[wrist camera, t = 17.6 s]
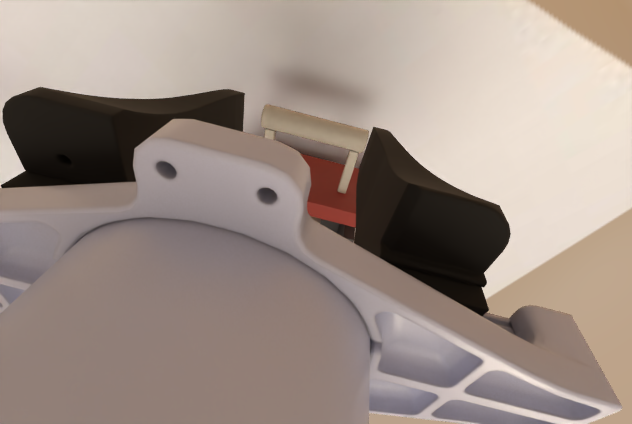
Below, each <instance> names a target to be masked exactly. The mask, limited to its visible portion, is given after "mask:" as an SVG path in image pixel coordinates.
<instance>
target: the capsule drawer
mask: <svg viewBox="0 0 632 424" xmlns="http://www.w3.org/2000/svg"><path fill="white" fill-rule="evenodd" d="M261 126H262V127H264V128H266V129H265V135H264V138H268V139H272V140H275V134H276V131H279V132H283V133H287V134H291V135H295V136H299V137H302V138H306V139H310V140H314V141H318V142H322V143H326V144H329V145H333V146H337V147H341V148H345V149H349V153H348V156H347V160H346V163H345V165H343V164H339V163H335V162H332V161H328V160H324V159H320V158H316V157H312V156H308V155H304V154H301V153H300V154H301V156H302V157H303V159H304V160H305V161H306V163H307V164H308V165H309V167H310V175H311V187H310V192H309V196H308V200H307V211H308V214H309V215H310V216H312V217H316V218H320V219H321V223H320V224H321V225H323V226H325V227H327V228H328V229H330V230H332V231H334V232H335V233H337V234H339V235H341V236H342V237H344V238H346V239H348V240H349V241H351V242H354V236H355V228H356V185H357V178H358V172H359V168H355V164H356V161H357V158H358V155H359V152H360V153H363V151H364V149H365V146H366V143H367V139H368V135H369V131H368V130H365V129H361V128H357V127H353V126H349V125H345V124H341V123H338V122H334V121H330V120H326V119H322V118H318V117H315V116H311V115H307V114H303V113H299V112H295V111H291V110H288V109H284V108H280V107H276V106H272V105H268V104H266V105H265V107H264V109H263V112H262V117H261Z"/></svg>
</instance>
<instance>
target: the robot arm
mask: <svg viewBox="0 0 632 424" xmlns="http://www.w3.org/2000/svg"><path fill="white" fill-rule="evenodd" d="M244 95H245V93H242V92H238V91H234V90H230V89H223V90H216V91H210V92H205V93H199V94H194V95H187V96H180V97H173V98H163V99H119V98H107V97H98V96H89V95H82V94H76V93H70V92H65V91H59V90H53V89H48V88H43V87H39V88H36V89H33V90H30V91H27V92H25V93H22V94H19V95H16V96H14V97H12V98H11V99H9V100H8V101H7V102H6V103H5V106H4V108H3V123H4V126H5V129H6V131H7V134H8V136H9V138H10V140H11V142H12V144H13V146H14V148H15V150H16V153H17V155H18V157H19V159H20V161H21V163H22V165H23V167H24V169H25V170H26V171H25V172H23V173H21V174H20V175H18V176H16V177H14V178H13V179H11V180H9V181H8V182H6V183H4V184H3V185H1V187H2V188H0V424H369V413H375V414H384V415H392V416H402V417H410V418H419V419H427V420H437V421H445V422H454V423H461V424H589V423H591V422H594V421H596V420H599V419H601V418H604V417H606V416H609V415H611V414H614V413H616V412H619V411H621V409H622V405H621V404H620V402H619V400H618V398H617V396H616V395H615V393H614V391H613V389H612V387H611V386H610V384H609V382H608V380H607V378H606V377H605V375H604V373H603V371H602V369H601V368H600V366H599V364H598V362H597V360H596V359H595V357H594V355H593V353H592V351H591V350H590V348H589V346H588V344H587V343H586V341H585V339H584V337H583V335H582V334H581V332H580V330H579V329H578V326H577V325H576V323H575V321H574V319H573V317H572V316H571V315H570V314H567V313H563V312H559V311H555V310H551V309H547V308H543V307H539V306H533V305H528V306H524V307H521V308H520V309H518V310H517V311H516V312H515V313H514V314H513V315H512V316H511V317H510V318H505V317H501V316H497V315H493V314H490V313H486V312H487V311H488V310H489V309H488V306H487V303H486V299H485V296H484V293H483V290H482V287H484V286H485V285H486V283H487V281H486V278H485V275H484V272H485V271H486V270H487V269H488V268H489V266H490V265H491V264H492V263H493V262H494V261H495V260H496V259H497V257H498V256H499V255H500V254H501V253H502V252H503V250H504V249H505V247H506V246H507V244H508V242H509V238H510V228H509V224H508V222H507V220H506V218H505V216H504V214H503V212H502V210H501V208H500V206H499V205H497V204H494V203H491V202H488V201H486V200H483V199H480V198H478V197H475V196H473V195H470V194H468V193H466V192H464V191H462V190H460V189H457V188H456V187H454V186H452V185H450V184H448V183H446V182H445V181H443V180H441V179H440V178H438V177H437V176H435V175H434V174H432V173H431V172H430V171H428V170H427V169H426V168H424V167H423V166H422V165H421V164H419V163H418V162H417V161H416V160H415V159H414V158H413V157H412V156H411V155H410V154H409V153H408V152H407V151H406V150H405V149H404V148H403V146H402V145H401V144H400V143H399V142H398V141H397V139H396V138H395V137H394V136H393V135H392V134H391V133H390V132H389V131H388V130H384V129H380V128H376V127H373V130H372V133H371V135H370V138H369V141H368V144H367V147H366V150H365V153H364V156H363V159H362V162H361V164H360V167H359V172H358V178H357V185H356V230H355V238H354V243H353V242H351V241H349V240H348V239H346V238H344V237H342V236H341V235H339V234H337V233H335V232H334V231H332V230H330V229H328V228H327V227H325V226H323V225H321V224H320V223H318V222H316V221H314V220H313V219H312V218H311V216H310V215H309V214H308V211H307V200H308V196H309V192H310V187H311V175H310V167H309V165H308V164H307V163H306V161H305V160H304V159H303V157H302V156H301V154H300V153H299V152H298V151H297V150H295V149H293V148H291V147H289V146H287V145H285V144H283V143H281V142H280V141H276V140H272V139H268V138H264V137H260V136H257V135H253V134H249V133H245V132H243V116H244Z"/></svg>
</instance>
